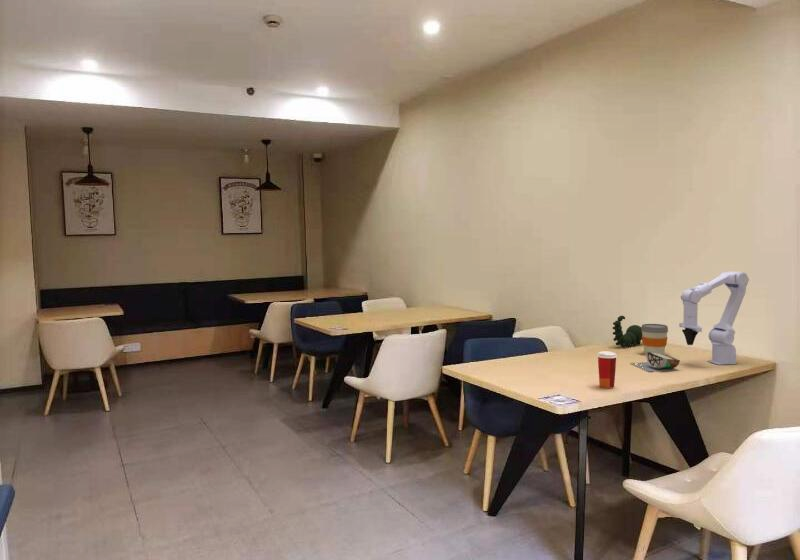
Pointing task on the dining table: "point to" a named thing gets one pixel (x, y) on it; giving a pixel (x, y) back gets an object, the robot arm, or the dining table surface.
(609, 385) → the paper cup
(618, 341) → the toy figurine
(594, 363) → the dining table surface
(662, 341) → the reusable coffee cup
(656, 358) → the food container
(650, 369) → the plain gray flat panel
